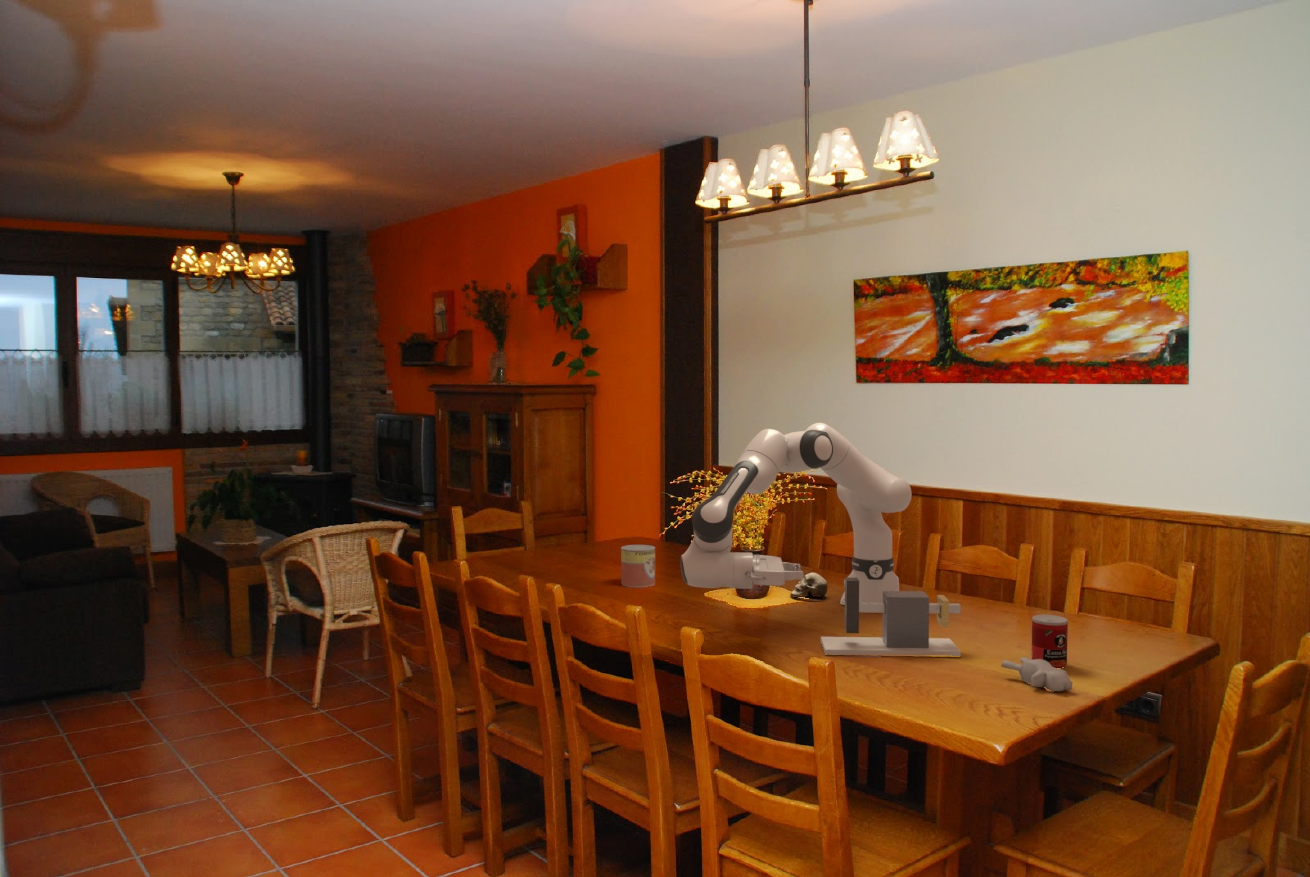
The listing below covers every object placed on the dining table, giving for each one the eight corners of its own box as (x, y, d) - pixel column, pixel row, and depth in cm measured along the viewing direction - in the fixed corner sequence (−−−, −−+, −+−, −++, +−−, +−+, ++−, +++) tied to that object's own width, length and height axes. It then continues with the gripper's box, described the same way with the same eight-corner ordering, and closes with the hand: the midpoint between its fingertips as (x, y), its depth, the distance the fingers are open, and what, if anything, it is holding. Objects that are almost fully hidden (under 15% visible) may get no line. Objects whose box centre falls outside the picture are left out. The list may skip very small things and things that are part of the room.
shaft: (844, 629, 246) (844, 577, 245) (957, 630, 244) (958, 578, 243) (846, 633, 242) (846, 580, 241) (961, 634, 240) (961, 581, 239)
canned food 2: (1045, 671, 225) (1046, 623, 224) (1023, 661, 232) (1024, 615, 232) (1074, 668, 227) (1075, 621, 226) (1051, 659, 234) (1052, 613, 234)
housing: (882, 646, 247) (882, 590, 246) (923, 646, 246) (923, 591, 245) (886, 653, 240) (887, 597, 239) (928, 654, 239) (929, 597, 238)
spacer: (936, 620, 245) (936, 595, 245) (943, 620, 245) (943, 595, 245) (942, 626, 239) (942, 600, 238) (948, 627, 239) (949, 600, 238)
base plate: (820, 642, 250) (820, 636, 250) (949, 644, 248) (949, 638, 248) (825, 655, 238) (825, 649, 238) (960, 657, 236) (960, 651, 236)
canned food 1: (643, 588, 316) (643, 551, 316) (614, 585, 322) (614, 548, 322) (661, 582, 326) (661, 546, 325) (633, 579, 332) (632, 543, 331)
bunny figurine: (1050, 679, 206) (997, 652, 220) (1047, 702, 207) (995, 674, 220) (1083, 673, 210) (1029, 647, 224) (1080, 695, 211) (1027, 669, 224)
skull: (787, 598, 297) (789, 568, 304) (791, 615, 305) (794, 586, 311) (827, 598, 294) (829, 569, 300) (830, 616, 301) (832, 587, 308)
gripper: (746, 565, 234) (805, 566, 233) (745, 551, 255) (799, 551, 253) (746, 591, 234) (805, 592, 233) (745, 575, 255) (799, 576, 254)
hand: (802, 571), depth 244 cm, fingers open, 8 cm apart
